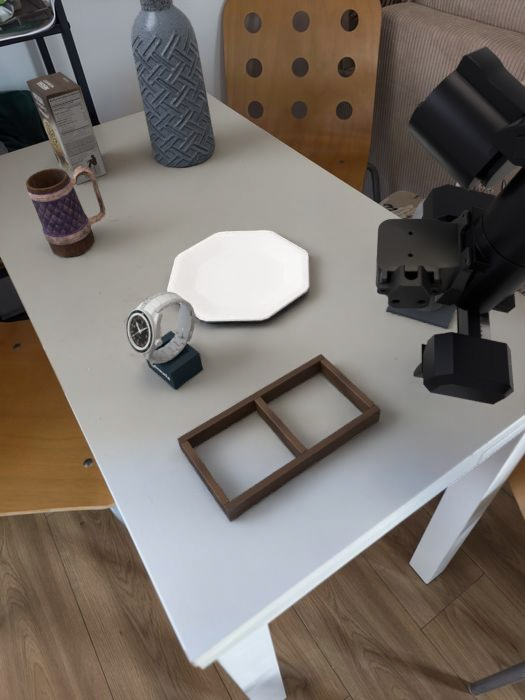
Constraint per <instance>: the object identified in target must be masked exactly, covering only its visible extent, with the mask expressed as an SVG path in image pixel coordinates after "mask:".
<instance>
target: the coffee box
mask: <svg viewBox="0 0 525 700" xmlns="http://www.w3.org/2000/svg"><path fill="white" fill-rule="evenodd" d="M26 85H27V87H28V89H29V91H30V94H31V97H32V101H33V102H34V105H35V107H36V111H37V112H38V115H39V117H40V120H41V123H42V125H43V128H44V130H45V133H46V135H47V138H48V140H49V143H50V146H51V148H52V151H53V153H54V156H55V159H56V161H57V164H58V166H59V169H62V170H64V171H66V173H67V174H68V176H69V177H70V179H72V178H73V175H74V170H75V169H76V168H77V167H80V166H82V165H83V166H86V167H89V168H90V169H91V170H92V172H93V173H94V174H95V175H96V178H99V177H102V176H104V175H107V169H106V166H105V164H104V160H103V158H102V157H103V156H102V153H101V150H100V148H99V143H98V140H97V138H96V133H95V130H94V127H93V124H92V121H91V117H90V115H89V111H88V108H87V105H86V101H85V98H84V94H83V92H82V89H81V86H80V85H79V84H78V83H77V82H75V81H73V80H72V79H71V78H70V77H68V76H67V75H65V74H64V73H62V72H61V71H58V72H55V73H51V74H46V75H42V76H38V77H35V78H31V79H29V80H27V81H26ZM88 181H92V180H91V179H90V178H89V177H88V176H85V175H80V176H79V177H78V179H77V183H76V184H75V185H81V184H83V183H86V182H88Z"/></svg>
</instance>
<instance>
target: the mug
mask: <svg viewBox="0 0 525 700" xmlns="http://www.w3.org/2000/svg"><path fill="white" fill-rule="evenodd" d="M80 175H85V176H88V177H89V178H90V179H91V180H90V181H91V183H92V188H93V191H94V194H95V197H96V200H97V203H98V206H99V213H97V214H96V215H94V216H91V217H88V215H87V214H86V213H85V210H84V208H83V206H82V204H81V202H80V199H79V197H78V194H77V192H76V189H75V187H74V185H77V184H76V183H77V179H78V177H79V176H80ZM25 185H26V190H27V193H28V196H29V197H30V199H31V202H32V204H33V207H34V209H35V211H36V214H37V216H38V219H39V222H40V224H41V226H42V227H41V228H42V232H43V235H44V237H45V239H46V241H47V242H48V244H49V246H50V249H51V251H52V252H53V254H55V255H57V256H61V257H64V258H67V257H68V258H71V257H76V256H79V255H82V254H84V253H86V252H87V251H89V250H90V248H92V246H93V245H94V244H95V241H96V237H95V234H94V232H93V229H92V226H93V225H94V224H97V223H99V222H101V220H103V219H104V218H105V216H106V207H105V203H104V200H103V197H102V194H101V191H100V189H99V188H100V187H99V184H98V180H97V177H96V175H95V174H94V173H93V172H92V170H91V169H90V168H89V167H86V166H83V165H82V166H80V167H77V168H76V169H75V170H74V175H73V178H72V179H71V178H70V177H69V176H68V174H67V173H66V171H64V170H62V169H61V168H55V167H54V168H46V169H42V170H40V171H39V170H38V171H37V172H35V173H33V174H32V175H30V176H29V177H28V178H27V179H26V181H25Z"/></svg>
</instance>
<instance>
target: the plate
mask: <svg viewBox="0 0 525 700" xmlns="http://www.w3.org/2000/svg"><path fill="white" fill-rule="evenodd" d="M309 257H310V255H309V253H308V251H307V250H306V249H304V248H302V247H300V246H298V245H297V244H295V243H293V242H292V241H290V240H289V239H287V238H284V237H283V236H281V235H279V233H278V234H277V233H276V232H275V231H272V230H268V229H263V230H262V229H261V230H260V229H259V230H232V231H231V230H228V231H219V232H215V233H213V234H211V235H210V236H208V237H206V238H204V239H202V240H201V241H198V242H197V243H196V244H194V245H192V246H190V247H189V248H187V249H185V250H183V251H182V252H180V253H178V254H177V255H176V257H174V261H173V264H172V269H171V272H170V278H169V280H168V285H167V288H166V292H173V293H176V294H177V295H179V296H180V297H182V298H183V299H185V300H186V301H187V302H189V303H190V304H191V305H192V306H193V309H194V313H195V314H196V318H197V319H198V320H199V321H201V322H204V323H253V322H255V323H257V322H259V323H260V322H264V321H267V320H270V319H271V318H272V317H274V316H275V315H277V314H278V313H280V312H281V311H283V310H284V309H285V308H287V307H288V306H290V305H291V304H293V303H294V302H295V301H296V300H298V299H300V298H301V297H302V296H304V295H306V294H307V293H308V291H309V289H310V258H309ZM180 304H181V303H178V305H180Z"/></svg>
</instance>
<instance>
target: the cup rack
mask: <svg viewBox="0 0 525 700" xmlns="http://www.w3.org/2000/svg"><path fill="white" fill-rule="evenodd" d="M319 373H320V374H321V375H322V376H323V377H324V378H325V379H326V380H327V381H328V382H329V383H331V385H333V387H335V388H336V390H338V391H339V392H340V394H342V395H343V396H344V397H345V398H346V399H347V401H349V402H350V403H351V404H352V405H353V406H354V407H355V408H356V409H357V410H359V412H361V414H359V415H358V416H356V417H355V418H353V419H352V420H350V421H349V422H347V423H346V424H344V425H343V426H341V427H340V428H339V429H337V430H335V431H333V432H332V433H331V434H329V435H328V436H325V438H324V439H322V440H320V441H319V442H317V443H316V444H314V445H313V446H311V447H309V448H308V449H307V448H306V446H305V445H304V444H303V443H302V442H301V441H300V440H299V439H298V437H297V436H296V435H295V434H294V433H293V432H292V431H291V430H290V429H289V427H288V426H287V425H286V424H285V422H283V421H282V420H281V418H280V417H279V416H278V415H277V414H276V412H274V410H273V409H271V407H270V406H269V405H268V404H270V403H271V402H273V401H275V400H276V399H278V398H280V397H281V396H283V395H285V394H286V393H288V392H290V391H291V390H293V389H295V388H296V387H298V386H299V385H302V383H305V382H306V381H308V380H309V379H311V378H313V377H314V376H316V375H318V374H319ZM381 411H382V409H381V408H380V406H378V405H377V404H376V403H375V402H374V401H373V400H372V399H371V398H370V397H368V396H367V395H366V393H364V392H363V391H362V390H361V389H360V388H359V387H358V386H357V385H356V384H355V383H354V382H352V381H351V380H350V379H349V378H348V377H347V376H346V375H345V374H344V373H343V372H342V371H340V370H339V368H337V367H336V365H334V364H333V363H332V362H331V361H330V360H329V359H328V358H326V356H325V355H323V353H320V354H318V355H317V356H315V357H313V358H312V359H310V360H308V361H306V362H305V363H303V364H301V365H300V366H298V367H296V368H294V369H293V370H291V371H289V372H287V373H285V374H284V375H282V376H281V377H279V378H277V379H275V380H274V381H272V382H271V383H269V384H267V385H265V386H264V387H262V388H261V389H259V390H257V391H256V392H254V393H252V394H250V395H249V396H247V397H245V398H244V399H242V400H240V401H238V402H237V403H235V404H233V405H232V406H230V407H228V408H227V409H224V410H223V411H222V412H220V413H217V415H215V416H213V417H211V418H210V419H208V420H206V421H204V422H202V423H201V424H199V425H198V426H196V427H195V428H193V429H191V430H189V431H187V432H186V433H184V434H183V435H181V436H179V437H177V443H178V446H179V448H180V451H181V452H182V454H183V455H184V457H185V458H186V460H187V461H188V463H189V464H190V465H191V467H192V468H193V470H194V471H195V473H196V475H198V477H199V479H200V480H201V481H202V483H203V484H204V486H205V487H206V488H207V490H208V491H209V493H210V494H211V496H212V497H213V499H214V500H215V502H216V503H217V505H218V506H219V508H220V509H221V511H222V513H223V514H224V515H225V516H226V518H227V520H228V521H229V522H232V521H233V520H234V519H237V518H238V517H240V516H241V515H242V514H244V513H245V512H247V511H248V510H250V509H251V508H253V507H254V506H255V505H257V504H258V503H260V502H261V501H263V500H264V499H265V498H267V497H269V496H270V495H272V494H273V493H275V492H276V491H278V490H279V489H280V488H282V487H283V486H285V485H287V484H288V483H289V482H291V481H292V480H293V479H295V478H297V477H298V476H299V475H301V474H303V473H304V472H306V471H307V470H308V469H310V468H312V467H313V466H314V465H316V464H317V463H319V462H320V461H322V460H323V459H324V458H326V457H327V456H329V455H331V454H332V453H333V452H335V451H336V450H338V449H339V448H341V447H342V446H344V445H346V444H347V443H348V442H350V441H351V440H353V439H354V438H355V437H357V436H359V435H360V434H361V433H363V432H365V431H366V430H367V429H369V428H370V427H372V426H373V425H374V424H376V423H377V422H379V421H380V416H381ZM255 412H256V414H258V416H259V417H260V418H261V420H263V421H264V423H265V424H266V425H267V426H268V427H269V429H270V430H271V431H272V432H273V433H274V434H275V435H276V436H277V438H278V439H279V440H280V441H281V442H282V443H283V444H284V446H285V447H286V448H287V449H288V450H289V452H290V453H291V454H292V455H293V456H294V457H295V458H293V459H292V460H290V461H288V462H287V463H286V464H284V465H283V466H281V467H279V468H278V469H276V470H275V471H274V472H272V473H270V474H269V475H267V476H266V477H265V478H263V479H261V480H260V481H259V482H257V483H255V484H254V485H253V486H251V487H249V488H248V489H247V490H245V491H244V492H242V493H240V494H239V495H237V496H236V497H234V498H232V499H231V500H230V499H229V497H228V495H227V494H226V493H225V492H224V490H223V489H222V487H221V486H220V485H219V483H218V482H217V480H216V478H215V477H214V476H213V474H212V473H211V472H210V470H209V469H208V468H207V466H206V464H205V463H204V462H203V460H202V459H201V458H200V456H199V455H198V453H197V452H196V450H195V448H197V447H198V446H201V445H202V444H204V443H205V442H207V441H209V440H210V439H212V438H213V437H215V436H217V435H218V434H220V433H222V432H224V431H226V430H227V429H228V428H231V427H232V426H234V425H235V424H237V423H238V422H240V421H242V420H243V419H245V418H247V417H248V416H250V415H252V414H253V413H255Z"/></svg>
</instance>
